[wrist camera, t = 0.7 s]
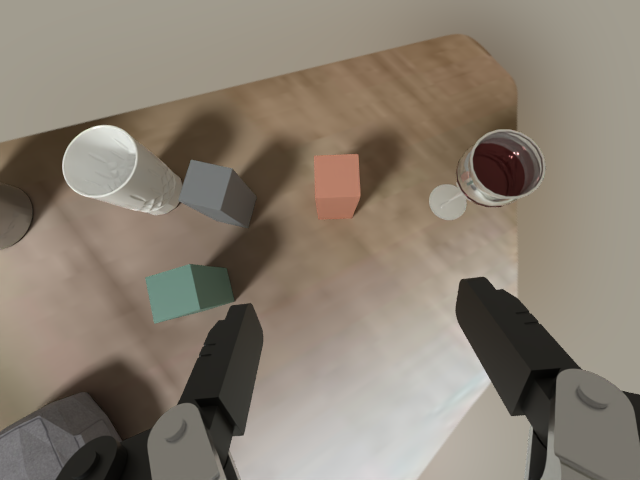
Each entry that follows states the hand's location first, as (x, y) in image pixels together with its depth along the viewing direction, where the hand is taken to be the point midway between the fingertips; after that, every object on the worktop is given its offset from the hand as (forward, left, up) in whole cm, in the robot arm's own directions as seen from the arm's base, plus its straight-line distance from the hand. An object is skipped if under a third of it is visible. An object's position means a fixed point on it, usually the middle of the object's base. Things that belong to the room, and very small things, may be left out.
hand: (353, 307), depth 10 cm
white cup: (-27, +2, -25) cm, 37 cm away
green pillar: (-14, -7, -24) cm, 29 cm away
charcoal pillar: (-16, +4, -24) cm, 30 cm away
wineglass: (+10, +16, -25) cm, 31 cm away
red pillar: (-4, +10, -24) cm, 27 cm away
